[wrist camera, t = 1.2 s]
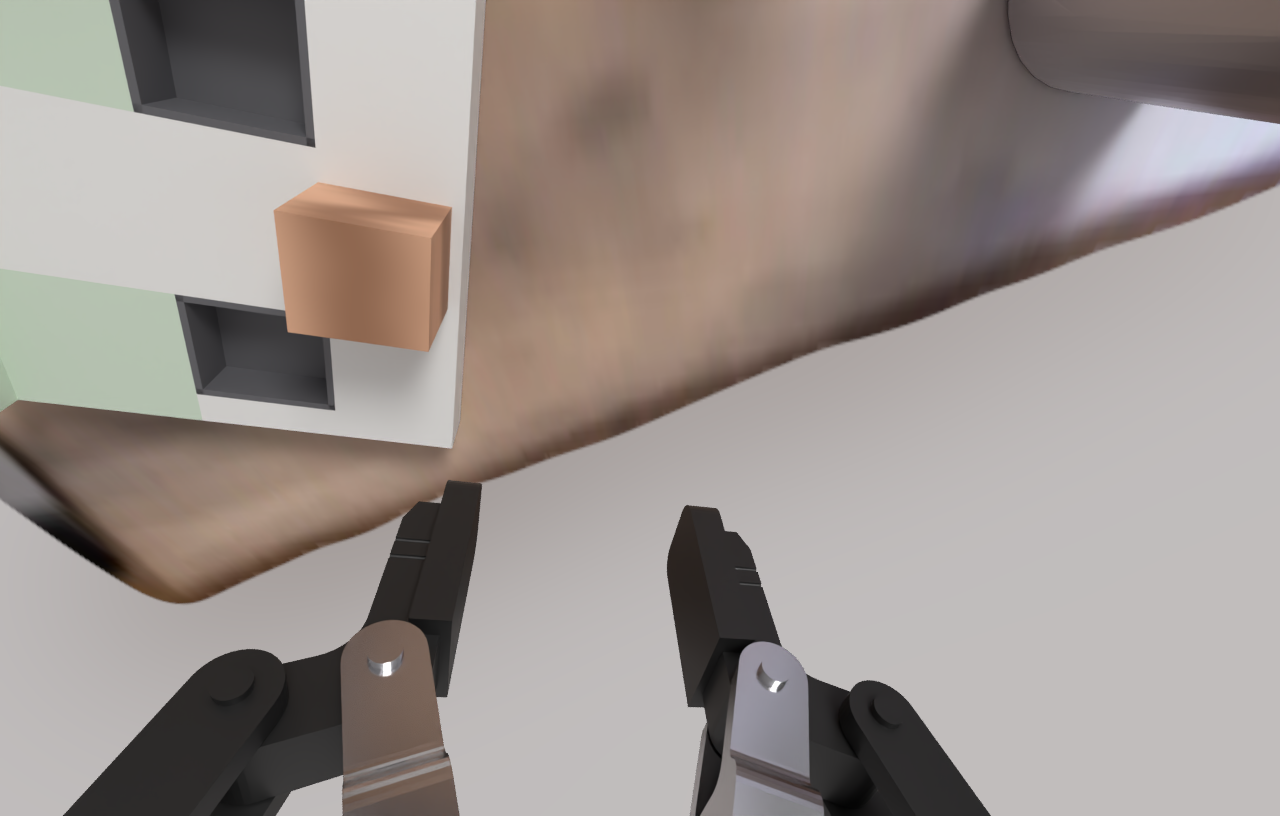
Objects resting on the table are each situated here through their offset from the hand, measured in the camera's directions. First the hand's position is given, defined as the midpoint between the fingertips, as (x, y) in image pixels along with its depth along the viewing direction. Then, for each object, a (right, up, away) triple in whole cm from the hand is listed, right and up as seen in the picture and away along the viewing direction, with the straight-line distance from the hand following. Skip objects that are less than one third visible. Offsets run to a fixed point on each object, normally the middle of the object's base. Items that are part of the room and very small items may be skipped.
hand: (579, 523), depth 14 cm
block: (-9, +9, +11) cm, 17 cm away
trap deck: (-16, +12, +12) cm, 23 cm away
